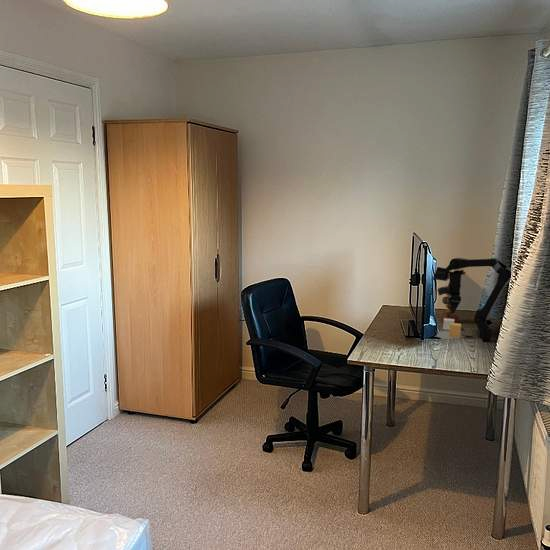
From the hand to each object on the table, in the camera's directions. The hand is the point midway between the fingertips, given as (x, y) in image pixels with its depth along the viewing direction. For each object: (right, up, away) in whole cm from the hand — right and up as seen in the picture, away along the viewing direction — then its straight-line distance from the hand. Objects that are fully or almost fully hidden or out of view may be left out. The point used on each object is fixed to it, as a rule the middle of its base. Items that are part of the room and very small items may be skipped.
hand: (452, 311), depth 292 cm
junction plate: (-5, -13, -4) cm, 14 cm away
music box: (+8, -8, +33) cm, 35 cm away
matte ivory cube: (+1, -11, +10) cm, 15 cm away
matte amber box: (-1, -12, -6) cm, 13 cm away
